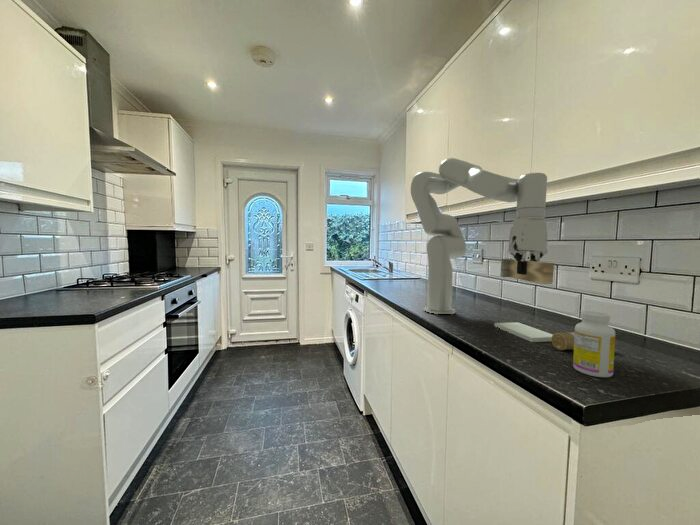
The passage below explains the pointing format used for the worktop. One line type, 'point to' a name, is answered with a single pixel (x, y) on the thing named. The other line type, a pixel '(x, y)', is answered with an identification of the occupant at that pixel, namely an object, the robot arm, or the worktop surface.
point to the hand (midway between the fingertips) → (526, 273)
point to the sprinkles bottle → (563, 340)
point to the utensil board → (525, 331)
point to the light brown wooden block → (529, 271)
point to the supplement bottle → (594, 345)
